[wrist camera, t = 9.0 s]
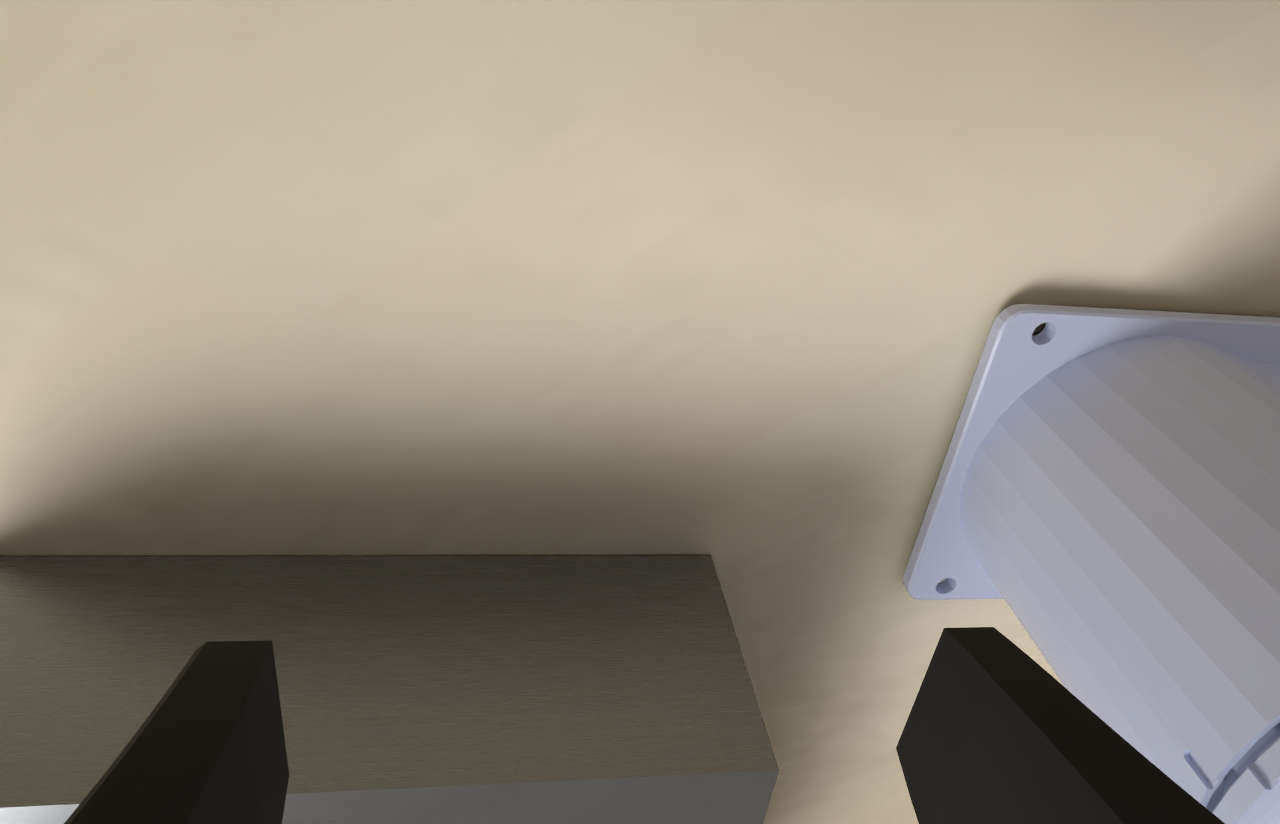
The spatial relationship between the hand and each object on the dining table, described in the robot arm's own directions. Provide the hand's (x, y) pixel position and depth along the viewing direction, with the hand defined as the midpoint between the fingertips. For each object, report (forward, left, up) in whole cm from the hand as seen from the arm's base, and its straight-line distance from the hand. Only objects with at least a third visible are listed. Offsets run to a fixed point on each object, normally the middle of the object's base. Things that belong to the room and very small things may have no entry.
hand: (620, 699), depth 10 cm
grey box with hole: (+4, +13, -9) cm, 17 cm away
